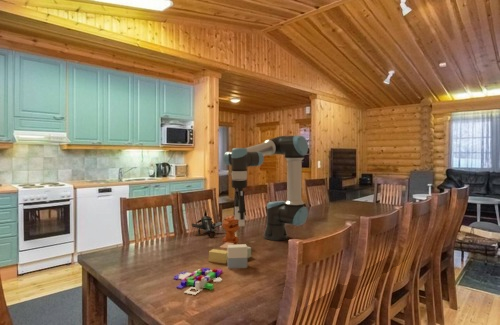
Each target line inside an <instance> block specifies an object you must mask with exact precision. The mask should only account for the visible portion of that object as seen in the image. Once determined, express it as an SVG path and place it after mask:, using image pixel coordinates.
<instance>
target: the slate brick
mask: <svg viewBox="0 0 500 325" xmlns="http://www.w3.org/2000/svg"><path fill="white" fill-rule="evenodd" d="M226 264H227V268H228V269H247V268H248V258H228V262H227V263H226Z"/></svg>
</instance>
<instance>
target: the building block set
mask: <svg viewBox="0 0 500 325" xmlns="http://www.w3.org/2000/svg"><path fill="white" fill-rule="evenodd" d="M222 273H223V269H221V268H220V269H218V268H215V269H214V268H213V269H211V268H208V267H202V268H199V269H197V270H195V271H193V272H189V271H187V270H186V271H181V272H179V274H176V275H174V277H173V280H175V279H176V280H175V281H178V280H179V279H181V280H180V284H178V285H177V286H176V289H178V288H180V289H179V290H182V289H184V288H186V286H188V285H191V286H190V287H189V288H188V289H186V290H184V291H183V294H184V293H187V294H186V295H188V294H192V295H191V296H193V295H196V294H197V293H199V292H200V291H201V292H203V288H205V289H207V290H208V289H210V290H209V291H212V290H213V289H214V284H213V283H214V282H216V283H221V282H223V279H222V278H221V277H220V275H221V274H222ZM218 276H219V277H218ZM216 277H217V278H216ZM177 279H178V280H177ZM212 280H213V281H212ZM211 281H212V282H213V283H210V282H211ZM194 286H195V287H194ZM183 287H184V288H183ZM181 288H182V289H181ZM191 289H195V290H193V291H192V290H191ZM211 289H212V290H211ZM190 290H191V291H190ZM197 290H198V291H197ZM201 292H200V293H201ZM200 293H199V294H200ZM197 295H198V294H197ZM197 295H196V296H197Z"/></svg>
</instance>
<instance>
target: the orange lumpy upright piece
mask: <svg viewBox="0 0 500 325" xmlns="http://www.w3.org/2000/svg"><path fill="white" fill-rule="evenodd" d="M240 228H241V226H239V219H238V220H235V214H233V215H229V216H227V217H225V218H224V219H223V220H222V229H223V230H224V231H225V232H226V233H225V236H224V237H223V238H222V244H225V243H226V242H228V243H234V245H238V244H239V241H240V239H239V238H238V237H237V236H236V232H238V230H239V229H240Z"/></svg>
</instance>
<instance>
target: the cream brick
mask: <svg viewBox="0 0 500 325" xmlns="http://www.w3.org/2000/svg"><path fill="white" fill-rule="evenodd" d="M247 247H248V245H247V244H246V243H244V244H243V243H242V244H239V243H237V245H227V256H228V258H247ZM247 259H248V258H247Z"/></svg>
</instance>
